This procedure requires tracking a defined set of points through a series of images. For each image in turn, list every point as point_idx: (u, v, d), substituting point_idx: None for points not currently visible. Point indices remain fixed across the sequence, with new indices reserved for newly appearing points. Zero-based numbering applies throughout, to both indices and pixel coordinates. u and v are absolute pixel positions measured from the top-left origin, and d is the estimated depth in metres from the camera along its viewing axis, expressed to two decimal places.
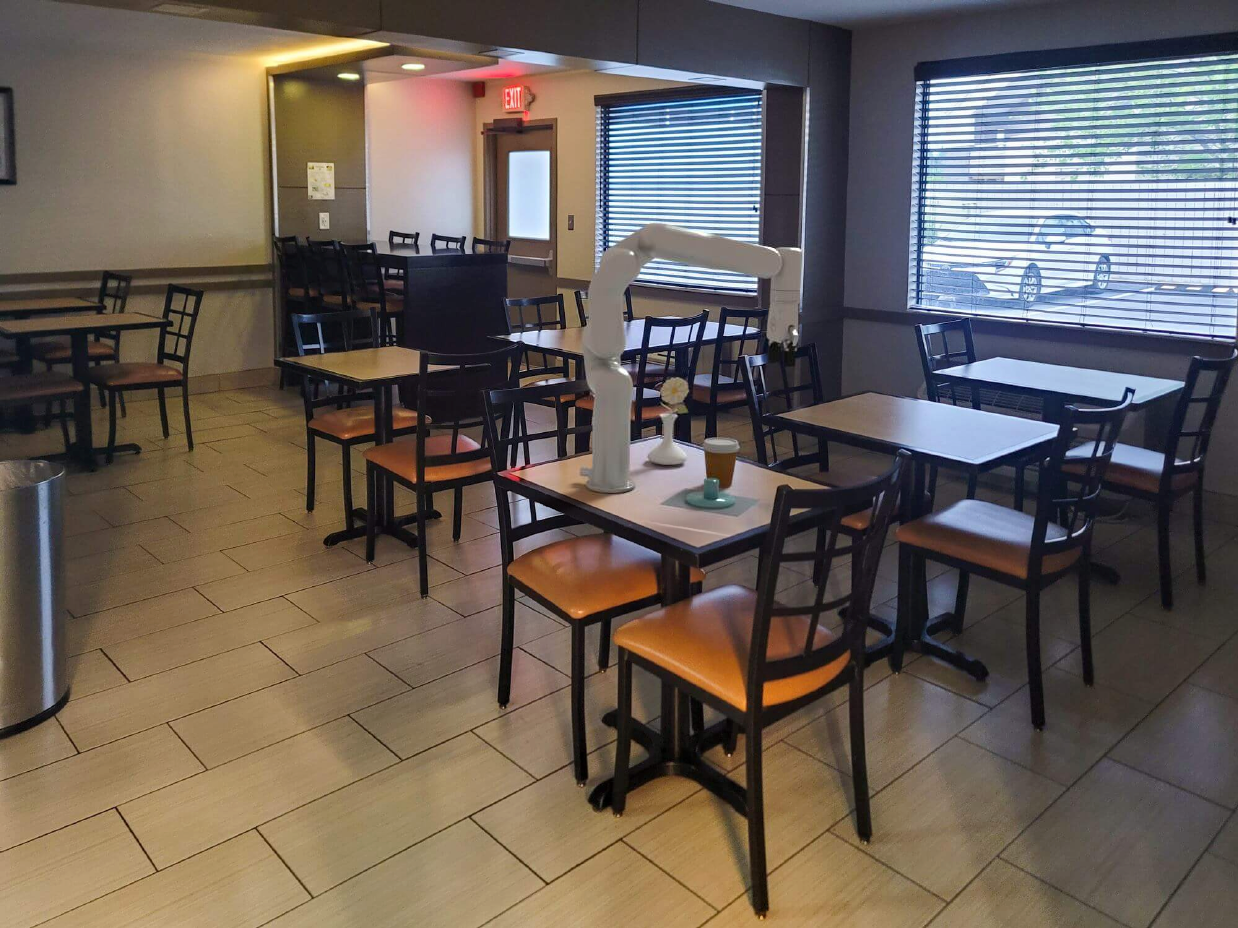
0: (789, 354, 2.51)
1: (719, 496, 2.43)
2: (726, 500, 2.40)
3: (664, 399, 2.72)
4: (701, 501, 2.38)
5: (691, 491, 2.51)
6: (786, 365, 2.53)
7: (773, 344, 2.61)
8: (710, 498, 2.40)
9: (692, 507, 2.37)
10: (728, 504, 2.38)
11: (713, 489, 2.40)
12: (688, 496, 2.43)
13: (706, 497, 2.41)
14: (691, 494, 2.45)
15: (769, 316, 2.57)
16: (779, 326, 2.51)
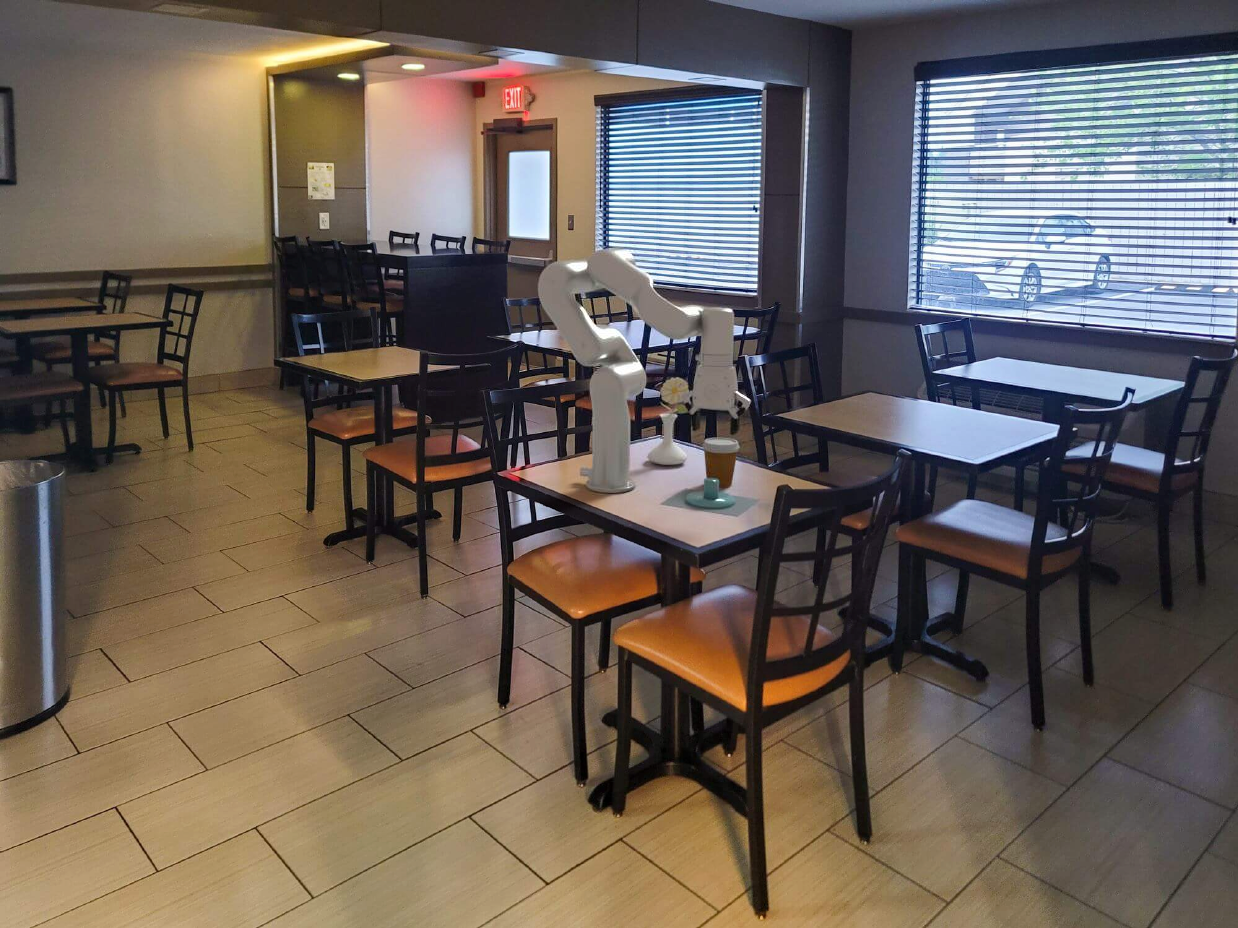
0: (737, 421, 2.34)
1: (719, 496, 2.43)
2: (726, 500, 2.40)
3: (664, 399, 2.72)
4: (701, 501, 2.38)
5: (691, 491, 2.51)
6: (734, 433, 2.35)
7: (696, 412, 2.38)
8: (710, 498, 2.40)
9: (692, 507, 2.37)
10: (729, 504, 2.38)
11: (713, 489, 2.40)
12: (688, 496, 2.43)
13: (706, 497, 2.41)
14: (691, 494, 2.44)
15: (699, 383, 2.34)
16: (726, 393, 2.31)
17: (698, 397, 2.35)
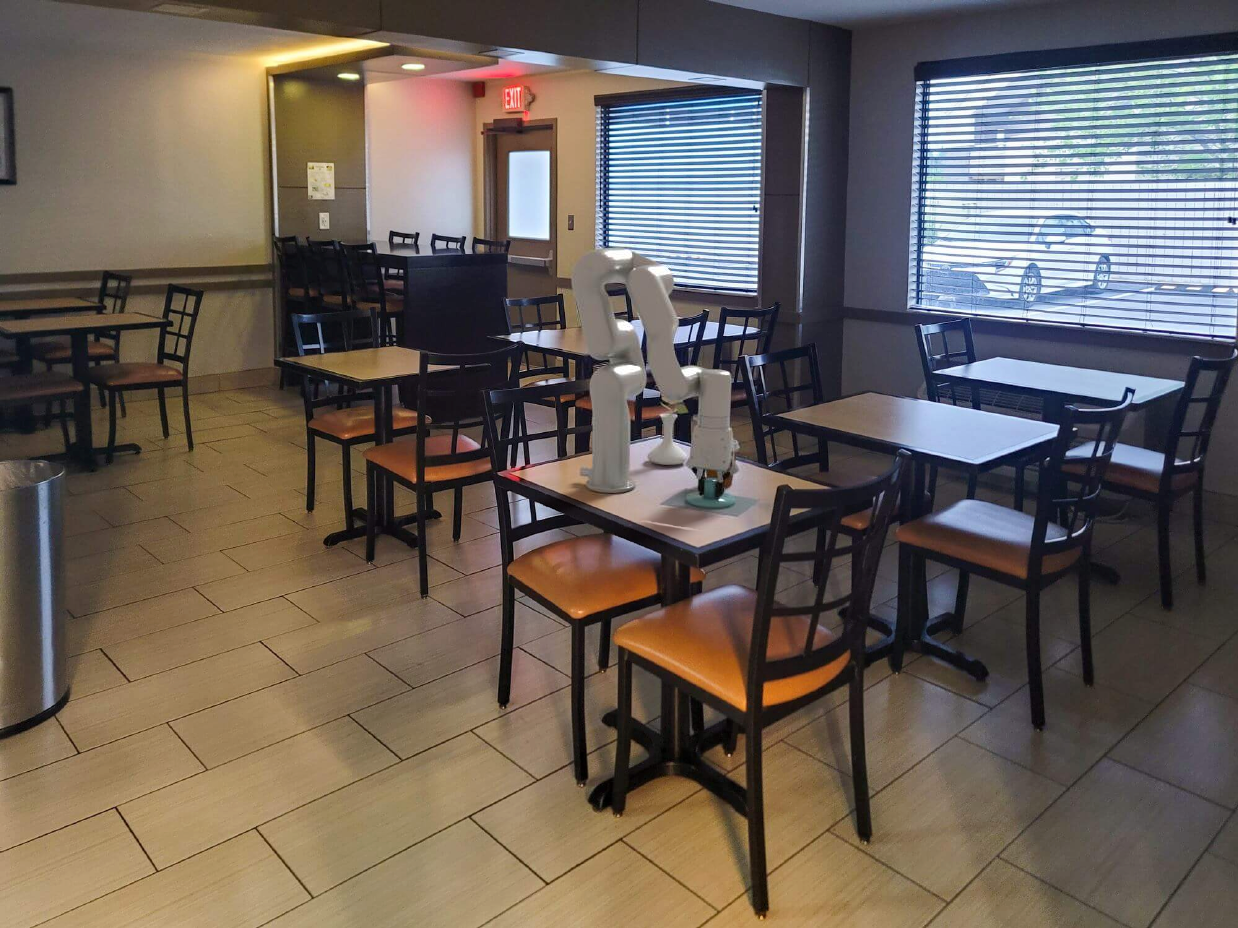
0: (722, 485, 2.39)
1: None
2: (726, 500, 2.40)
3: (664, 399, 2.72)
4: (702, 501, 2.38)
5: (691, 491, 2.51)
6: (719, 496, 2.40)
7: (703, 475, 2.41)
8: (710, 498, 2.40)
9: (692, 507, 2.37)
10: (729, 503, 2.38)
11: (713, 488, 2.40)
12: (688, 496, 2.43)
13: (706, 497, 2.41)
14: (691, 494, 2.44)
15: (696, 443, 2.38)
16: (723, 454, 2.35)
17: (695, 457, 2.38)
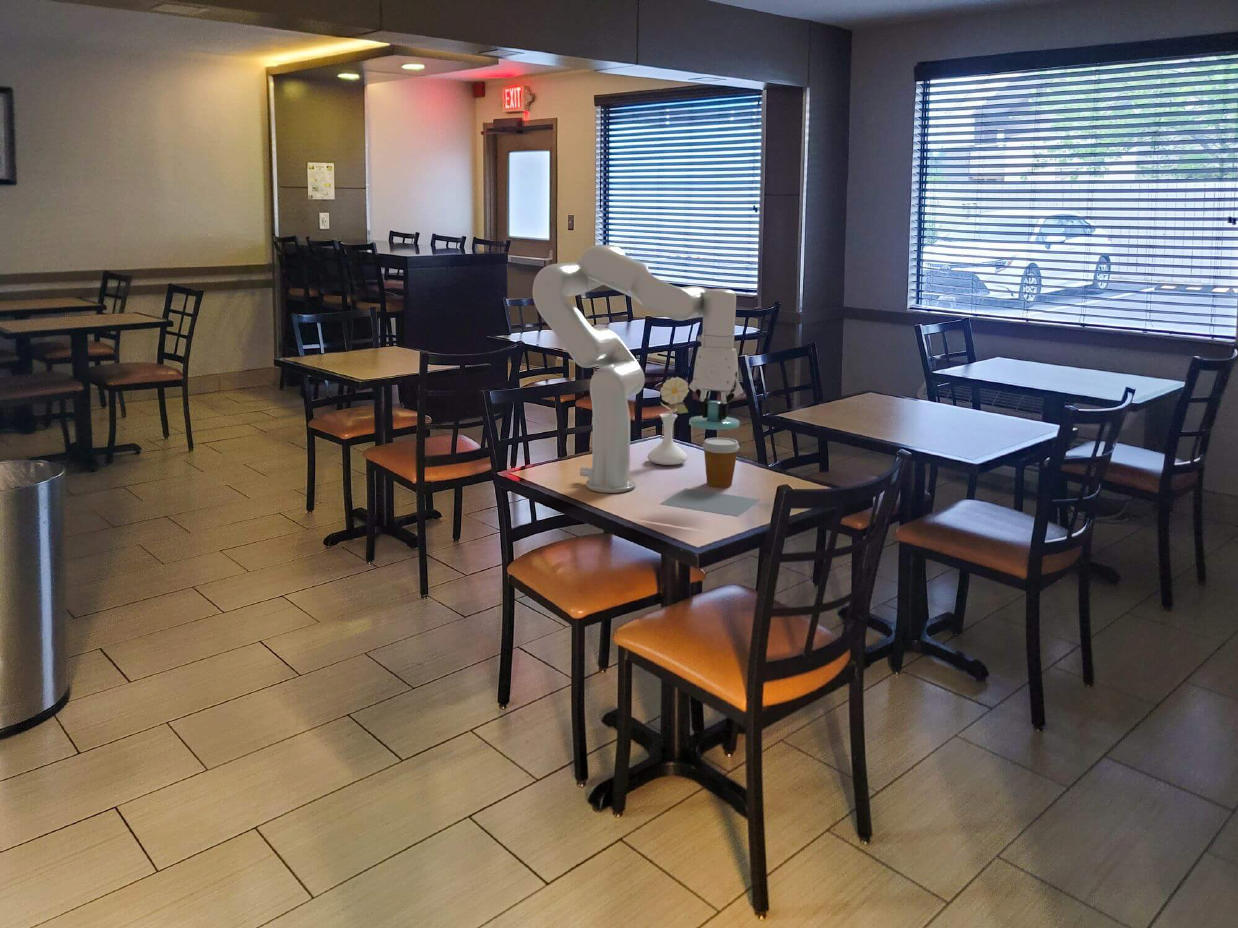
0: (726, 407, 2.36)
1: None
2: (729, 422, 2.37)
3: (664, 399, 2.72)
4: (705, 423, 2.36)
5: (691, 491, 2.51)
6: (722, 418, 2.37)
7: (706, 397, 2.38)
8: (714, 420, 2.37)
9: (692, 507, 2.37)
10: (732, 425, 2.35)
11: (716, 411, 2.37)
12: (691, 419, 2.40)
13: (709, 419, 2.38)
14: (694, 417, 2.42)
15: (699, 364, 2.35)
16: (726, 374, 2.32)
17: (698, 378, 2.36)
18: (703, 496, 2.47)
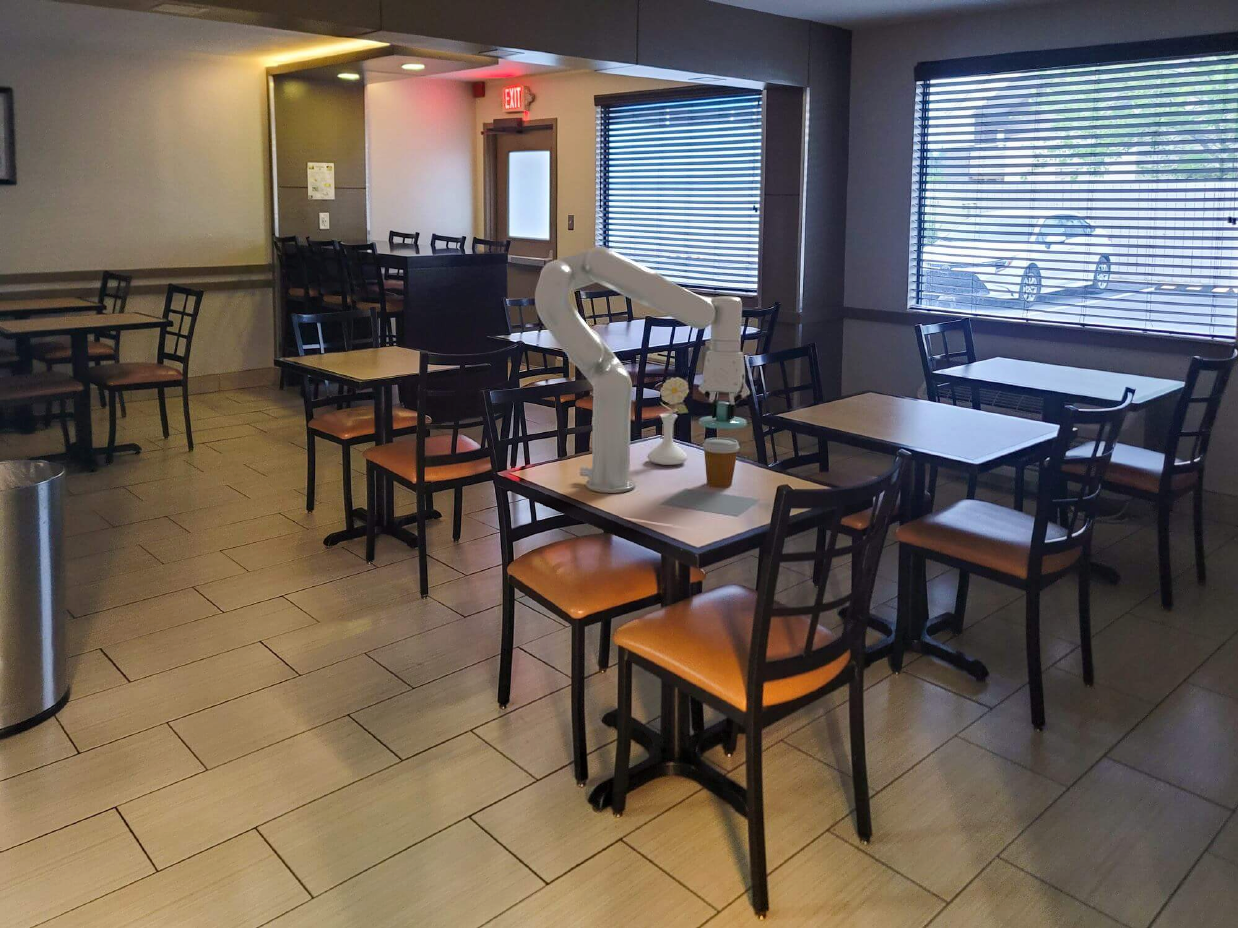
0: (734, 407, 2.51)
1: (731, 419, 2.55)
2: (737, 421, 2.52)
3: (664, 399, 2.72)
4: (714, 423, 2.50)
5: (691, 491, 2.51)
6: (730, 418, 2.52)
7: (715, 399, 2.53)
8: (722, 420, 2.52)
9: (692, 507, 2.37)
10: (740, 424, 2.49)
11: (725, 411, 2.51)
12: (701, 419, 2.54)
13: (719, 419, 2.52)
14: (704, 418, 2.56)
15: (708, 367, 2.49)
16: (734, 377, 2.47)
17: (708, 380, 2.50)
18: (703, 496, 2.47)
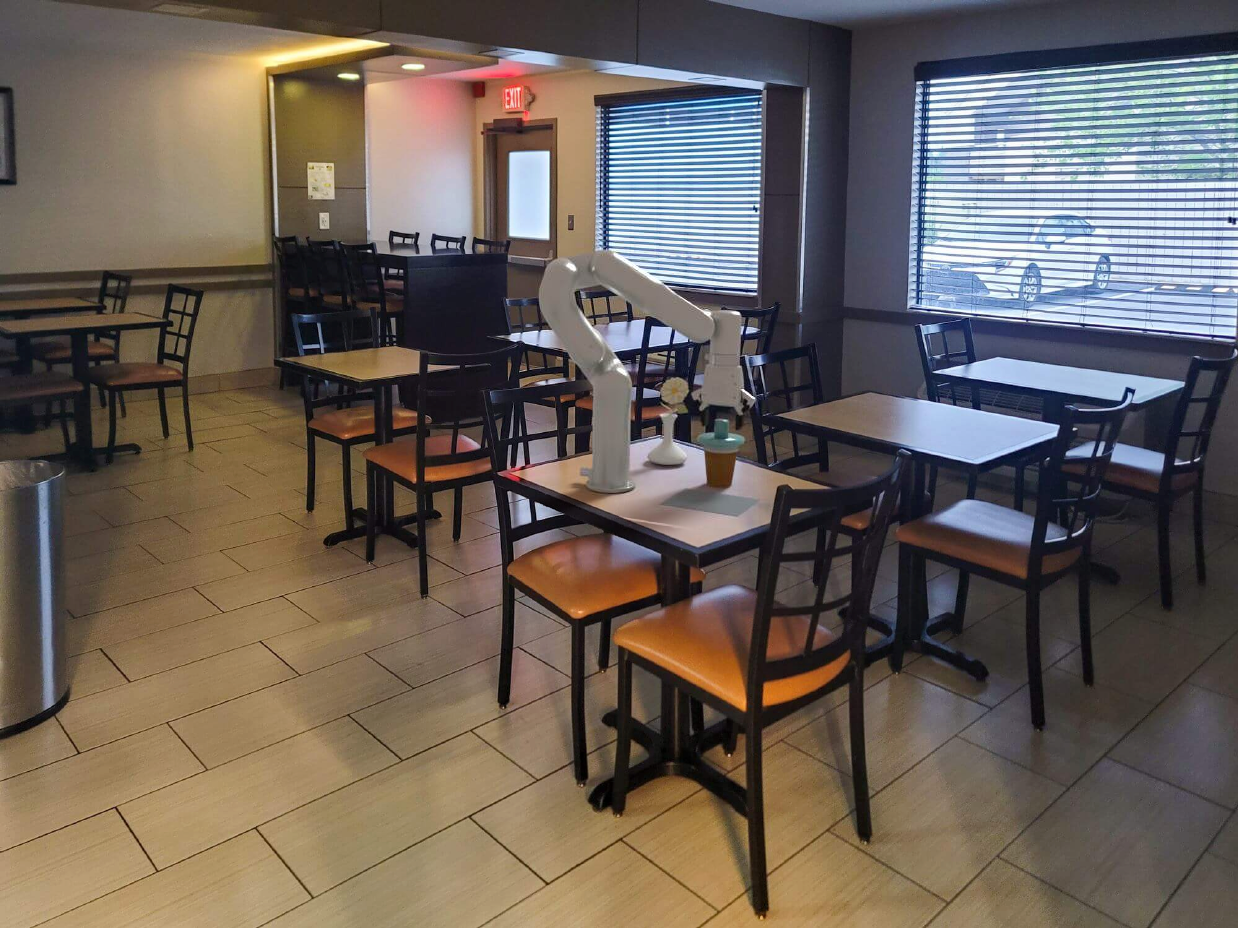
0: (742, 418, 2.51)
1: (729, 436, 2.56)
2: (736, 439, 2.53)
3: (664, 399, 2.72)
4: (712, 440, 2.51)
5: (691, 491, 2.51)
6: (738, 428, 2.51)
7: (705, 409, 2.54)
8: (721, 437, 2.53)
9: (692, 507, 2.37)
10: (738, 442, 2.50)
11: (723, 428, 2.52)
12: (699, 436, 2.55)
13: (717, 436, 2.53)
14: (702, 435, 2.57)
15: (707, 381, 2.50)
16: (733, 390, 2.48)
17: (707, 394, 2.51)
18: (703, 496, 2.47)
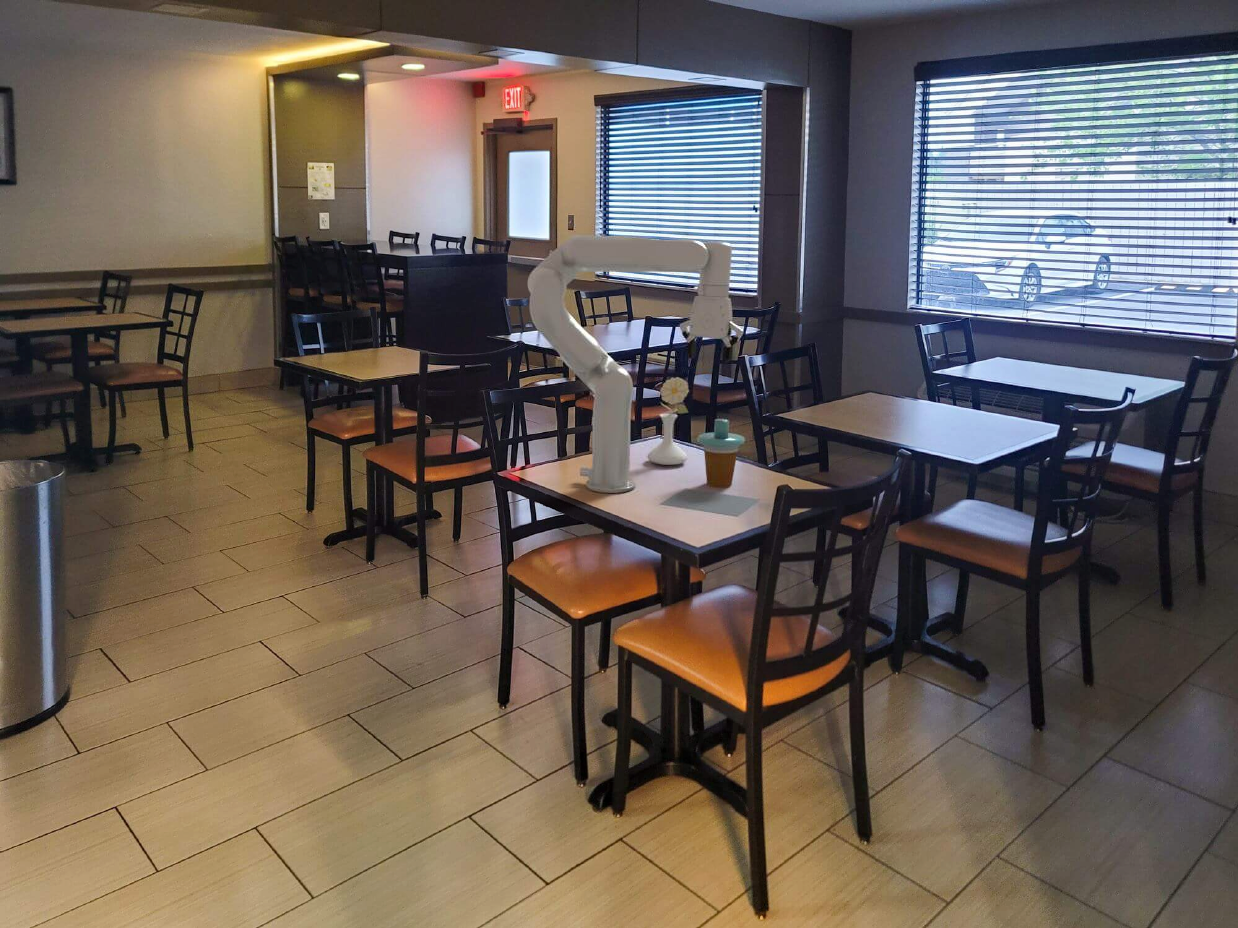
0: (730, 350, 2.49)
1: (729, 436, 2.56)
2: (736, 439, 2.53)
3: (664, 399, 2.72)
4: (713, 440, 2.51)
5: (691, 491, 2.51)
6: (726, 361, 2.49)
7: (692, 341, 2.53)
8: (721, 437, 2.53)
9: (692, 507, 2.37)
10: (738, 442, 2.50)
11: (723, 428, 2.52)
12: (699, 436, 2.55)
13: (717, 436, 2.53)
14: (702, 435, 2.57)
15: (696, 312, 2.49)
16: (721, 322, 2.46)
17: (694, 326, 2.50)
18: (703, 496, 2.47)
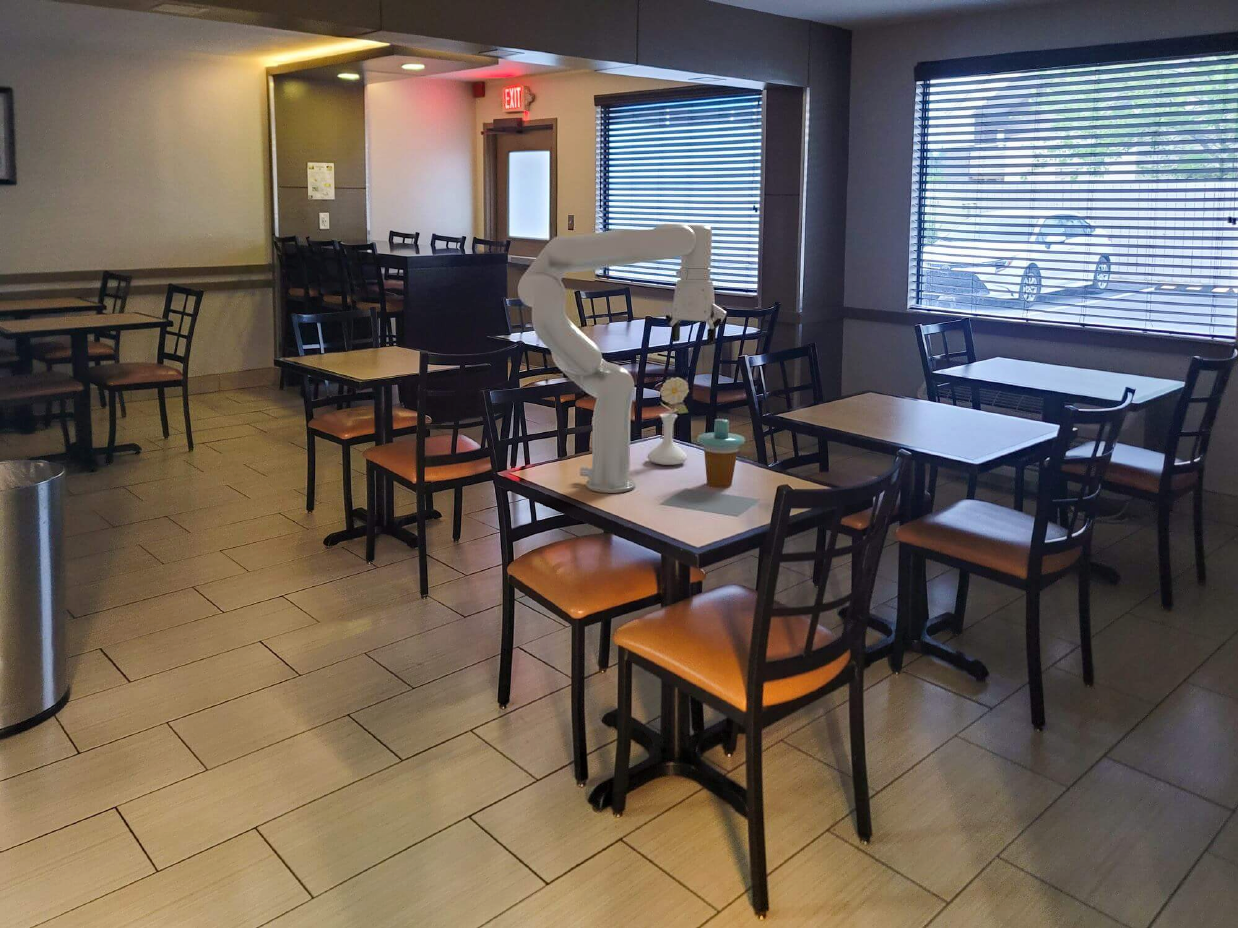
0: (714, 332, 2.52)
1: (729, 436, 2.56)
2: (736, 439, 2.53)
3: (664, 399, 2.72)
4: (713, 440, 2.51)
5: (691, 491, 2.51)
6: (710, 343, 2.53)
7: (676, 324, 2.56)
8: (721, 437, 2.53)
9: (692, 507, 2.37)
10: (738, 442, 2.50)
11: (723, 428, 2.52)
12: (699, 436, 2.55)
13: (717, 436, 2.53)
14: (702, 435, 2.57)
15: (678, 296, 2.52)
16: (704, 304, 2.49)
17: (678, 309, 2.53)
18: (703, 496, 2.47)
